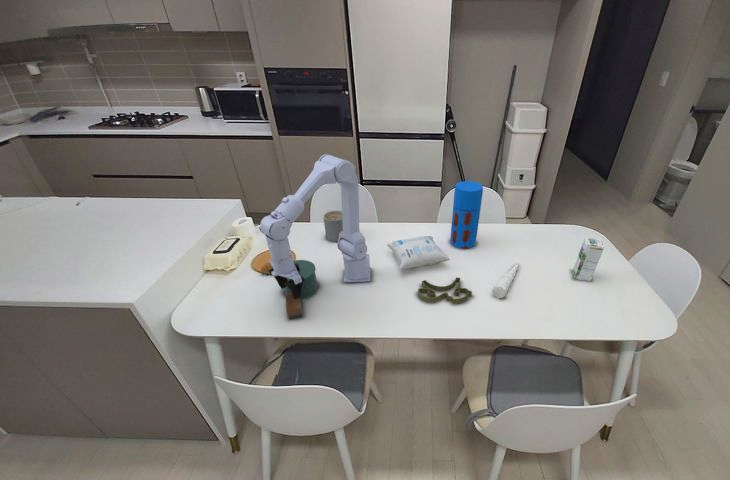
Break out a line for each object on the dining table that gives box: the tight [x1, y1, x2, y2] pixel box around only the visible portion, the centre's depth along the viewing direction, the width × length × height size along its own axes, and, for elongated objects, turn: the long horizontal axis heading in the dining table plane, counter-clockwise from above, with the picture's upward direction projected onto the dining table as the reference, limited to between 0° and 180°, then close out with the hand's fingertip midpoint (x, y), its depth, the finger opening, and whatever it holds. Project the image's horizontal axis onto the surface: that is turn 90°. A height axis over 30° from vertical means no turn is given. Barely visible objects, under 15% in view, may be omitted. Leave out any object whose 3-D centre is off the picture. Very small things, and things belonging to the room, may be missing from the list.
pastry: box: [260, 261, 273, 275], centre depth 131 cm, size 9×7×4 cm
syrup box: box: [572, 237, 605, 282], centre depth 126 cm, size 6×6×14 cm
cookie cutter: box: [417, 277, 473, 305], centre depth 121 cm, size 18×12×2 cm, turn 98°
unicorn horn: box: [491, 263, 519, 299], centre depth 126 cm, size 5×24×5 cm, turn 146°
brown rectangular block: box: [285, 293, 303, 320], centre depth 113 cm, size 9×4×4 cm, turn 17°
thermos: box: [450, 180, 484, 250], centre depth 142 cm, size 11×11×25 cm
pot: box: [282, 271, 318, 300], centre depth 121 cm, size 12×12×8 cm
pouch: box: [385, 235, 451, 270], centre depth 136 cm, size 8×19×20 cm
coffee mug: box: [322, 209, 343, 243], centre depth 151 cm, size 13×10×10 cm
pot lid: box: [287, 259, 316, 281], centre depth 118 cm, size 13×13×3 cm
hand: (290, 292), depth 110 cm, fingers open, 7 cm apart
